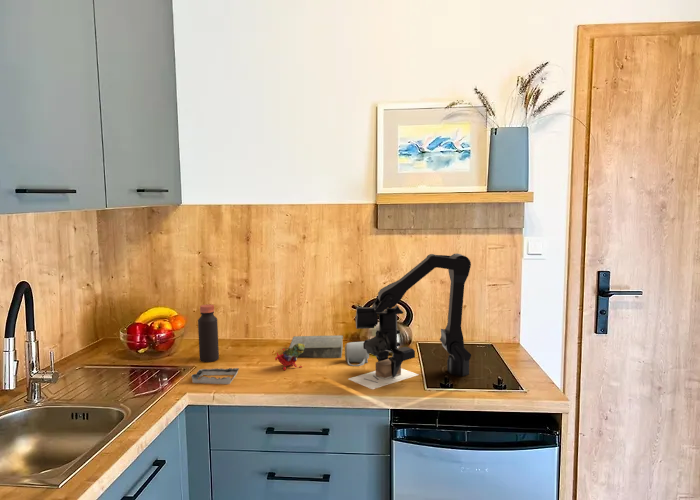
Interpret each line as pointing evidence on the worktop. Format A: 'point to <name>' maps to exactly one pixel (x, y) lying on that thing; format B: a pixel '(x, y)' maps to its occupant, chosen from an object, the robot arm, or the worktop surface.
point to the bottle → (208, 334)
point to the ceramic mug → (356, 353)
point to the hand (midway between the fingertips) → (388, 374)
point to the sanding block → (385, 369)
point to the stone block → (319, 346)
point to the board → (380, 379)
